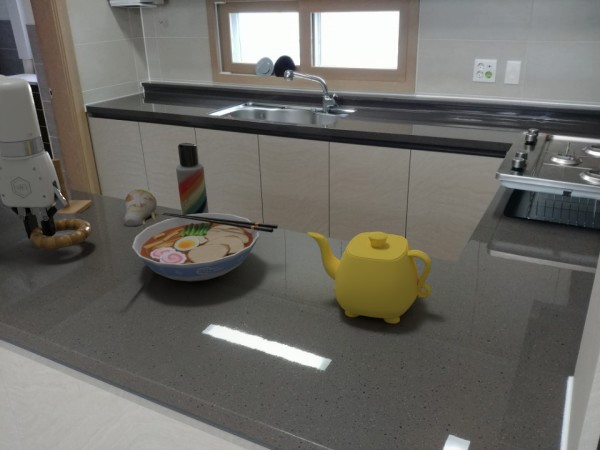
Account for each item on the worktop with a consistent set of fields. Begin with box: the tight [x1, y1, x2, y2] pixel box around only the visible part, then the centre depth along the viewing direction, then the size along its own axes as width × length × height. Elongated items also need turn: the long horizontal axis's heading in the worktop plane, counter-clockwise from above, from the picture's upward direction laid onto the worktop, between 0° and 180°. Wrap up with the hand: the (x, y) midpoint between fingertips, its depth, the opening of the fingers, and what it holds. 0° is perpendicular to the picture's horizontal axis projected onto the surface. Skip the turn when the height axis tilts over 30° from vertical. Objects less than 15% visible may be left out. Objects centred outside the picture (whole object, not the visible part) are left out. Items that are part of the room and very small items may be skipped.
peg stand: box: [39, 157, 93, 214], centre depth 130 cm, size 9×9×13 cm
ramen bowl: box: [131, 212, 279, 282], centre depth 99 cm, size 25×23×8 cm
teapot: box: [307, 231, 433, 324], centre depth 85 cm, size 14×20×13 cm
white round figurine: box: [123, 188, 158, 227], centre depth 123 cm, size 8×10×10 cm
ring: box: [29, 218, 93, 250], centre depth 107 cm, size 11×11×2 cm
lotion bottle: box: [175, 142, 210, 215], centre depth 114 cm, size 6×6×20 cm
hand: (42, 235), depth 107 cm, fingers closed on ring, 2 cm apart
